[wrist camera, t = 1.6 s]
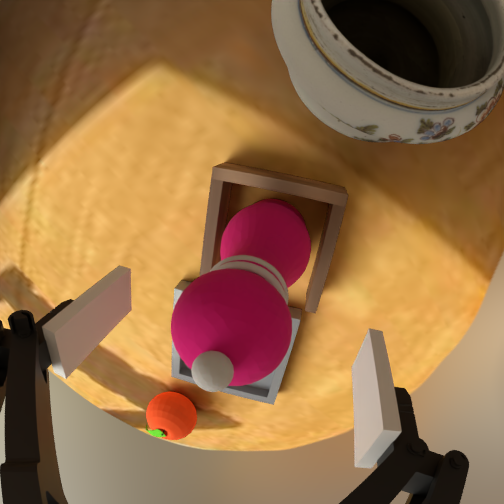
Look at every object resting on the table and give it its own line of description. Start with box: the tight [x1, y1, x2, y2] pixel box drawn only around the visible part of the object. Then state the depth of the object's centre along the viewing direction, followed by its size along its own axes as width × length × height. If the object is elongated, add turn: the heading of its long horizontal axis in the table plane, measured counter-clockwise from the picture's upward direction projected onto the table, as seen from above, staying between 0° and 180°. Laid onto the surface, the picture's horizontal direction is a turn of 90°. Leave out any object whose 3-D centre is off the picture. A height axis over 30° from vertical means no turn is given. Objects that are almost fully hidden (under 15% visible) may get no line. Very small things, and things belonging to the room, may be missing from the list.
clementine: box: [146, 392, 197, 440], centre depth 39 cm, size 8×7×7 cm
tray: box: [172, 280, 302, 405], centre depth 35 cm, size 13×13×2 cm
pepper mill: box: [171, 199, 311, 392], centre depth 21 cm, size 7×7×20 cm
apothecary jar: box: [271, 0, 504, 144], centre depth 15 cm, size 12×12×18 cm
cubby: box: [200, 162, 348, 313], centre depth 29 cm, size 11×11×4 cm
